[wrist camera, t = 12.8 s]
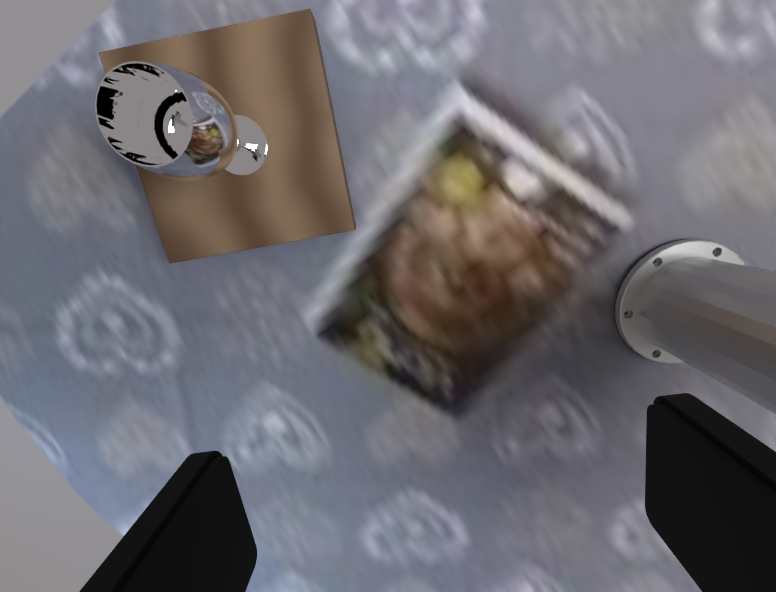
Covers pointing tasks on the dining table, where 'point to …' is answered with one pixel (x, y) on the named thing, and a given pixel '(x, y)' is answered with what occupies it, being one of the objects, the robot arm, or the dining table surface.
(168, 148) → the wineglass
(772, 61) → the dining table surface
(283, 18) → the stand
